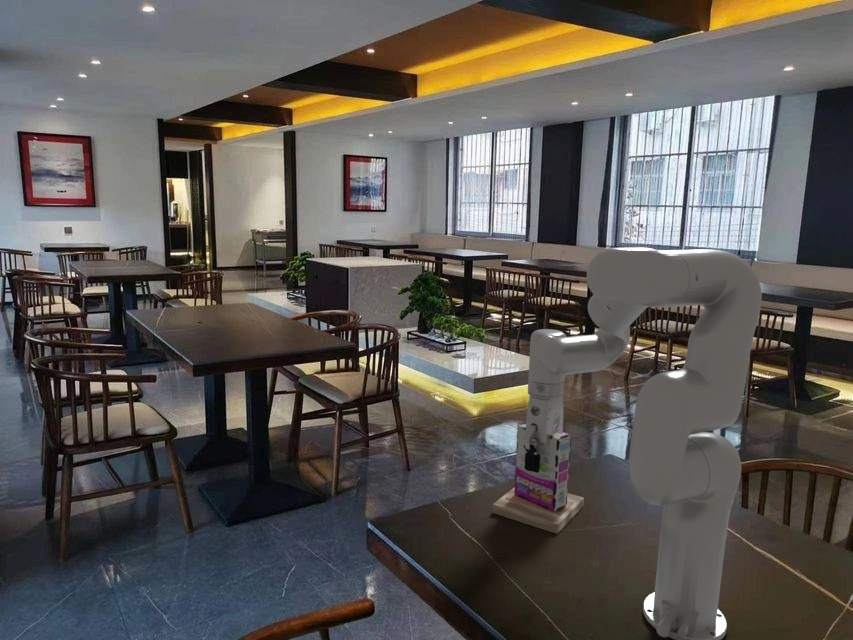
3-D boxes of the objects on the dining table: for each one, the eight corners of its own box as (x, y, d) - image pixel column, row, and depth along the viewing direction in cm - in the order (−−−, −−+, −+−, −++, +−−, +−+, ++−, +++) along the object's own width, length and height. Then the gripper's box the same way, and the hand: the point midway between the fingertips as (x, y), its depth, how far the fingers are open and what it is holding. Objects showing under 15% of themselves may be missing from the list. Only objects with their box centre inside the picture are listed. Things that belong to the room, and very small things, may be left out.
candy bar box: (568, 505, 136) (572, 433, 133) (554, 513, 133) (558, 439, 130) (527, 488, 144) (530, 420, 141) (513, 494, 141) (516, 424, 138)
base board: (557, 533, 129) (557, 523, 128) (492, 512, 137) (492, 503, 136) (583, 506, 141) (584, 497, 140) (522, 488, 149) (523, 479, 149)
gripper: (545, 400, 125) (540, 481, 128) (577, 381, 139) (572, 455, 142) (511, 393, 129) (507, 472, 132) (545, 376, 143) (541, 447, 146)
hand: (541, 463), depth 137 cm, fingers open, 9 cm apart
